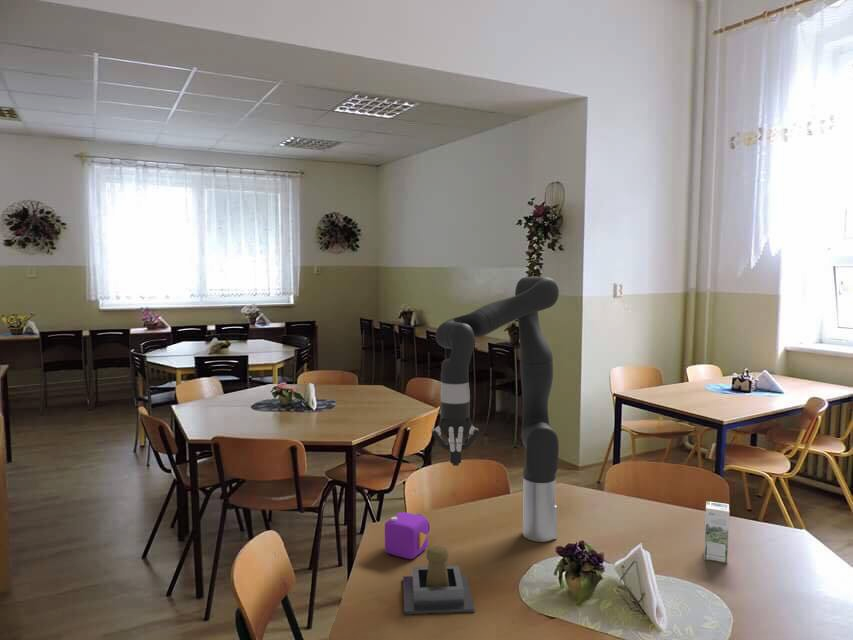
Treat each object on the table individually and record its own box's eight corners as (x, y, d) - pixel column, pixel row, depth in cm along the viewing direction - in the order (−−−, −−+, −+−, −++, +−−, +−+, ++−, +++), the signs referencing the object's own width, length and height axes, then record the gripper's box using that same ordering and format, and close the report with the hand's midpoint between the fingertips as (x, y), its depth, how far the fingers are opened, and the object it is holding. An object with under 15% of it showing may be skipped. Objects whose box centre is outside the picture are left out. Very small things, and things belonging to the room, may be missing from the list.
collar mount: (466, 577, 159) (466, 561, 158) (474, 612, 143) (474, 594, 142) (403, 579, 158) (402, 563, 157) (404, 614, 142) (404, 596, 141)
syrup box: (727, 555, 170) (729, 503, 168) (727, 564, 164) (729, 510, 163) (704, 551, 172) (705, 499, 171) (703, 560, 167) (705, 507, 166)
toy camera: (435, 541, 179) (434, 507, 179) (419, 563, 167) (419, 526, 166) (399, 536, 183) (399, 503, 182) (381, 557, 170) (381, 521, 169)
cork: (451, 585, 153) (450, 542, 152) (449, 598, 147) (449, 553, 146) (426, 584, 154) (426, 541, 153) (423, 597, 148) (423, 552, 147)
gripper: (478, 395, 166) (478, 459, 167) (428, 396, 165) (429, 461, 166) (482, 401, 158) (482, 468, 160) (430, 402, 158) (430, 470, 159)
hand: (455, 464), depth 163 cm, fingers closed
